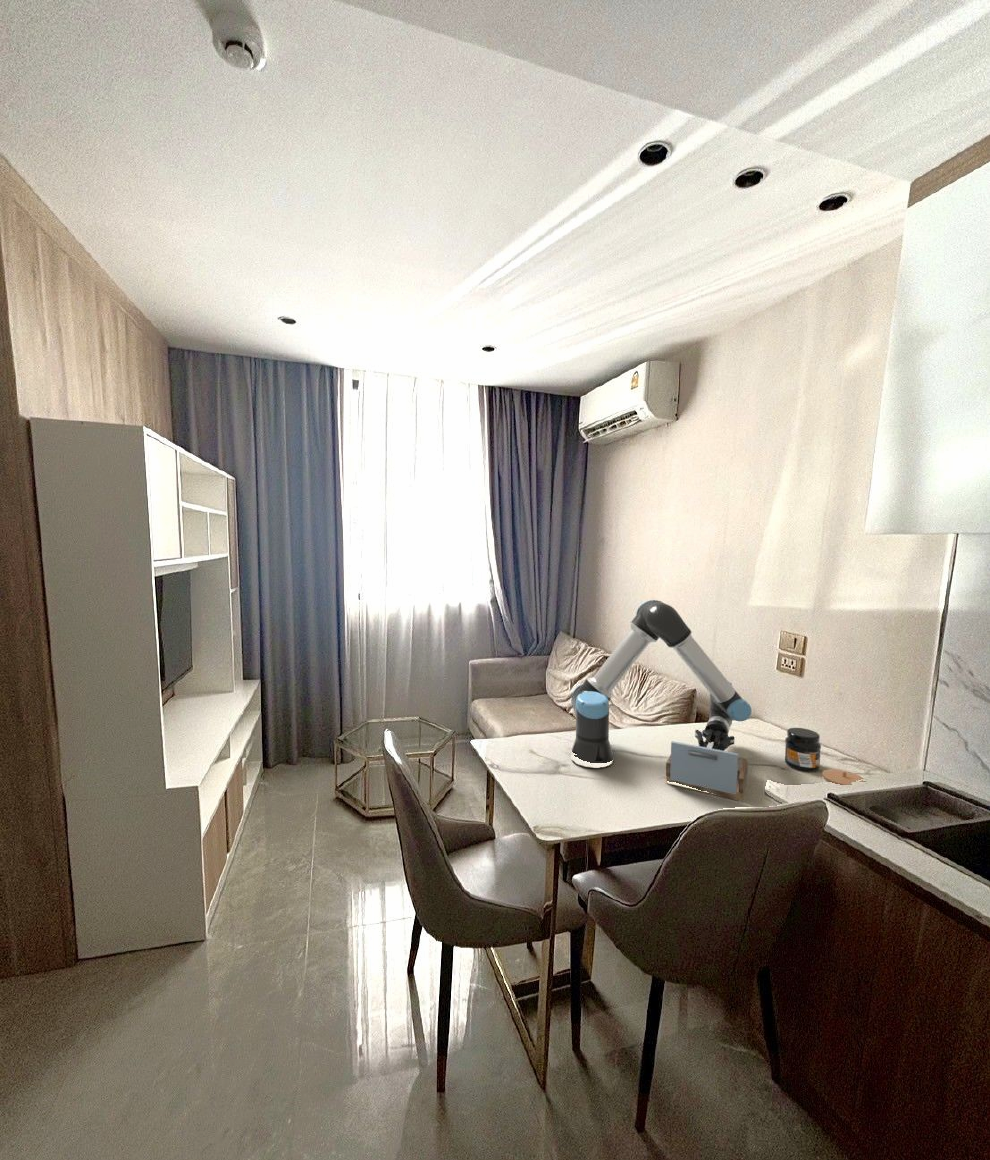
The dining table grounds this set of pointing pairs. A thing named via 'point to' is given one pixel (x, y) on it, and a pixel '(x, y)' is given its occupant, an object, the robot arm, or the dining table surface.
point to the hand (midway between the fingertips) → (708, 753)
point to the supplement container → (802, 749)
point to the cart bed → (739, 796)
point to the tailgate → (704, 767)
